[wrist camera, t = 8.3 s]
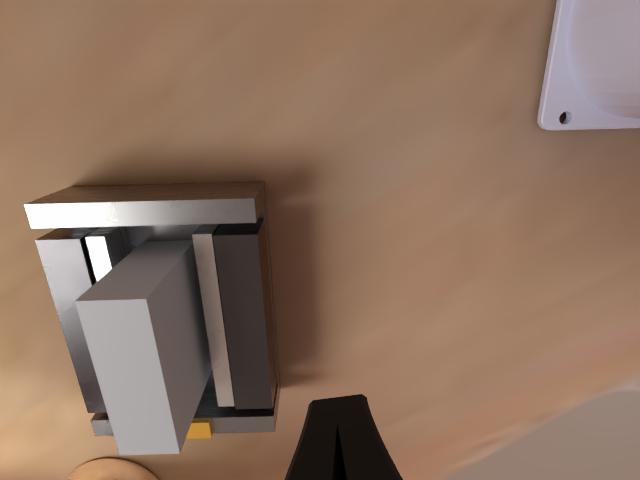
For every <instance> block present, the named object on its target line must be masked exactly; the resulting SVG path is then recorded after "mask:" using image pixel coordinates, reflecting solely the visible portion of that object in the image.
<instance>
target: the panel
mask: <svg viewBox="0 0 640 480" xmlns="http://www.w3.org/2000/svg"><path fill="white" fill-rule="evenodd" d="M75 304H76V308H77V311H78V314H79V318H80V321H81V325H82V328H83V331H84V335H85V338H86V342H87V345H88V349H89V352H90V355H91V359H92V362H93V366H94V369H95V372H96V376H97V379H98V383H99V386H100V390H101V393H102V396H103V400H104V403H105V407H106V410H107V414H108V417H109V420H110V424H111V427H112V431H113V434H114V437H115V441H116V444H117V448H118V451H119V455H149V454H180V452H181V449H182V446H183V444H184V441H185V439H186V436H187V433H188V431H189V428H190V425H191V423H192V420H193V418H194V415H195V412H196V410H197V407H198V404H199V402H200V399H201V397H202V394H203V391H204V389H205V386H206V383H207V381H208V378H209V376H210V373H211V370H212V362H211V356H210V349H209V343H208V336H207V329H206V323H205V316H204V310H203V303H202V297H201V290H200V284H199V277H198V271H197V264H196V257H195V251H194V244H193V240H179V241H147V242H142V243H141V244H140V245H139V246H138V247H137V248H135V249H134V250H133V251H132V252H131V253H130V254H128V255H127V256H126V257H125V258H124V259H123V260H122V261H120V262H119V263H118V264H117V265H116V266H115V267H114V268H112V269H111V270H110V271H109V272H108V273H107V274H105V275H104V276H103V277H102V278H101V279H100V280H99V281H97V282H96V283H95V284H94V285H93V286H92V287H90V288H89V289H88V290H87V291H86V292H85V293H84V294H82V295H81V296H80V297H79V298H78V299H77V300H75Z"/></svg>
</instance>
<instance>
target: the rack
mask: <svg viewBox="0 0 640 480" xmlns="http://www.w3.org/2000/svg"><path fill="white" fill-rule="evenodd" d="M24 206H25V209H26V213H27V216H28V219H29V222H30V226H31V229H36V228H57V229H55V230H53V231H52V232H50V233H48V234H46V235H44V236H42V237H40V238H38V239H36V240H35V242H36V245H37V248H38V252H39V255H40V258H41V261H42V265H43V268H44V271H45V274H46V278H47V281H48V284H49V287H50V291H51V294H52V297H53V300H54V304H55V307H56V310H57V313H58V317H59V320H60V323H61V326H62V330H63V333H64V336H65V339H66V343H67V346H68V349H69V352H70V356H71V359H72V362H73V365H74V369H75V372H76V375H77V378H78V382H79V385H80V388H81V391H82V395H83V398H84V401H85V404H86V408H87V411H88V413H95V415H94V416H93V418H92V419H91V424H92V427H93V430H94V433H95V436H114V434H113V431H112V427H111V424H110V420H109V417H108V414H107V410H106V407H105V403H104V400H103V396H102V393H101V390H100V386H99V383H98V379H97V376H96V372H95V369H94V366H93V362H92V359H91V355H90V352H89V349H88V345H87V342H86V338H85V335H84V331H83V328H82V325H81V321H80V318H79V314H78V311H77V308H76V304H75V300H77V299H78V298H79V297H80V296H81V295H82V294H84V293H85V292H86V291H87V290H88V289H89V288H90V287H92V286H93V285H94V284H95V283H96V282H97V281H99V280H100V279H101V278H102V277H103V276H104V275H105V274H107V273H108V272H109V271H110V270H111V269H112V268H114V267H115V266H116V265H117V264H118V263H119V262H120V261H122V260H123V259H124V258H125V257H126V256H127V255H128V254H130V253H131V252H132V251H133V250H134V249H135V248H137V247H138V246H139V245H140V244H141V243H142V242H147V241H179V240H193V244H194V251H195V257H196V264H197V271H198V277H199V284H200V290H201V297H202V303H203V310H204V316H205V323H206V329H207V336H208V343H209V349H210V356H211V362H212V370H211V373H210V376H209V378H208V381H207V383H206V386H205V389H204V391H203V394H202V397H201V399H200V402H199V404H198V407H197V410H196V412H195V415H194V418H193V420H192V423H191V425H190V428H189V431H188V433H187V436H186V439H201V438H212V435H213V433H247V432H275V427H276V419H277V411H278V403H279V396H280V378H279V365H278V353H277V340H276V327H275V314H274V302H273V289H272V276H271V263H270V250H269V238H268V225H267V212H266V199H265V187H264V182H227V183H190V184H152V185H114V186H77V187H68V188H65V189H62V190H60V191H57V192H55V193H52V194H50V195H47V196H44V197H42V198H39V199H37V200H34V201H32V202H29V203H26V204H24Z"/></svg>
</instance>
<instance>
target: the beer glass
mask: <svg viewBox="0 0 640 480" xmlns="http://www.w3.org/2000/svg"><path fill="white" fill-rule="evenodd" d="M69 480H158V479H157V478H156V477H155V476H154V475H153V474H152V473H151V472H150V471H148V470H147V469H146V468H144V467H142V466H140V465H138V464H136V463H133V462H130V461H127V460H122V459H116V458H103V459H97V460H93V461H90V462H87V463H85V464H83V465H81V466H80V467H79V468H77V469H76V470H75V471H74V472H73V474H72V475H71V476H70V478H69Z"/></svg>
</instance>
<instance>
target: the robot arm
mask: <svg viewBox="0 0 640 480" xmlns="http://www.w3.org/2000/svg"><path fill="white" fill-rule="evenodd" d="M563 112H565V113H566V119H565V121H564V122H563V123H560V122H559V117H560V115H561V114H562V113H563ZM537 122H538V125H539V127H541V128H542V129H546V130H585V129H621V128H640V0H557V3H556V9H555V15H554V21H553V27H552V33H551V39H550V45H549V51H548V57H547V63H546V69H545V75H544V81H543V87H542V93H541V99H540V105H539V111H538V118H537ZM285 480H403V479H402V477H401V476H400V474H399V472H398V470H397V468H396V466H395V464H394V462H393V461H392V459H391V457H390V455H389V453H388V451H387V449H386V447H385V445H384V443H383V441H382V439H381V436H380V434H379V432H378V430H377V428H376V425H375V423H374V420H373V418H372V415H371V412H370V409H369V406H368V402H367V397H365V396H364V395H362V394H359V395H351V396H344V397H336V398H328V399H320V400H313V401H312V402H311V403H310V404H309V407H308V411H307V416H306V419H305V423H304V426H303V430H302V433H301V436H300V439H299V442H298V445H297V448H296V451H295V454H294V456H293V459H292V461H291V464H290V467H289V469H288V472H287V474H286V477H285Z"/></svg>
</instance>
